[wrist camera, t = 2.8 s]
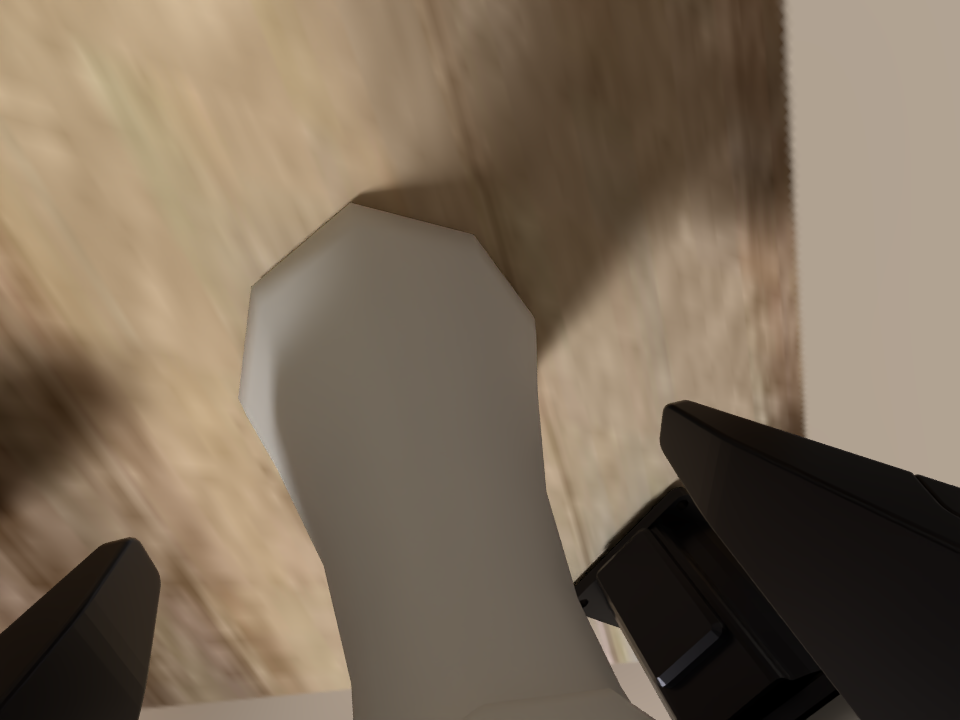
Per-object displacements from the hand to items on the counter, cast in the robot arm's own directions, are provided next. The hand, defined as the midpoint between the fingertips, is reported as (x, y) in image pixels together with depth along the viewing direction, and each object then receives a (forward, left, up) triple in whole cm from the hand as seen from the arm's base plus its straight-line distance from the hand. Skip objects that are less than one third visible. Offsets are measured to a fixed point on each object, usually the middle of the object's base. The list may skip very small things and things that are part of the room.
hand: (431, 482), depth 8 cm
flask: (0, 0, -5) cm, 5 cm away
